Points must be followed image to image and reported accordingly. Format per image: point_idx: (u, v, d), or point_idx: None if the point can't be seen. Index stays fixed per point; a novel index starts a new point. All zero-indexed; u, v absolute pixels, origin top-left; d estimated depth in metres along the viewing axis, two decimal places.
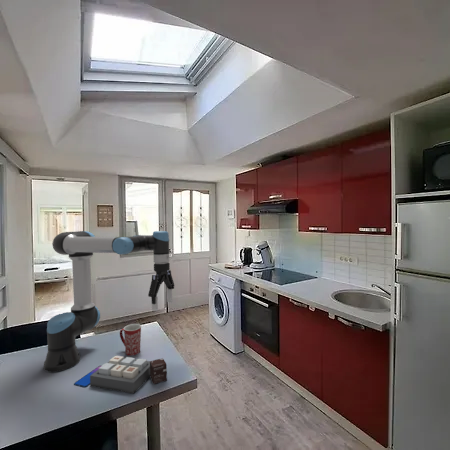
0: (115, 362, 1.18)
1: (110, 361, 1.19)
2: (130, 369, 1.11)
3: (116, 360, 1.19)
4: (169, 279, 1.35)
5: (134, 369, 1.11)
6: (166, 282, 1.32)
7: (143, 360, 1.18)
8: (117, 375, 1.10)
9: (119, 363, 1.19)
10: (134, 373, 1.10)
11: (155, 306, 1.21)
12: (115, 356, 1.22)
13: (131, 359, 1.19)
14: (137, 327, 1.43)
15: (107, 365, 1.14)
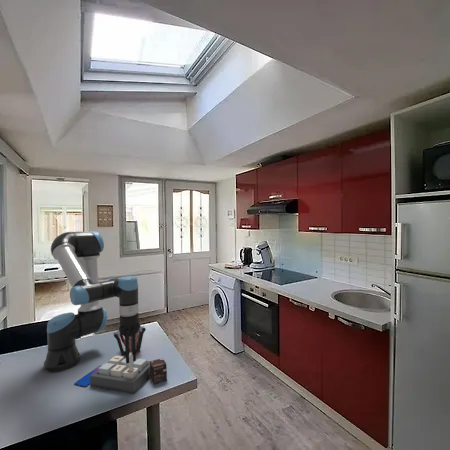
0: (115, 362, 1.18)
1: (110, 361, 1.19)
2: None
3: (116, 360, 1.19)
4: (138, 338, 1.12)
5: (134, 370, 1.11)
6: (131, 340, 1.11)
7: (143, 360, 1.18)
8: (117, 375, 1.10)
9: (119, 363, 1.19)
10: (134, 374, 1.10)
11: (129, 365, 1.10)
12: (115, 356, 1.22)
13: None
14: None
15: (107, 365, 1.14)
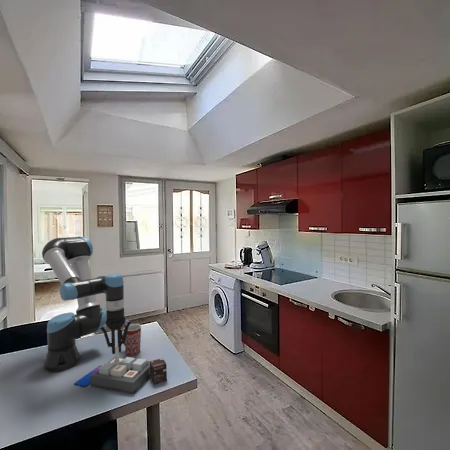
0: (115, 364, 1.18)
1: None
2: (130, 373, 1.11)
3: (116, 362, 1.19)
4: (124, 331, 1.22)
5: (134, 373, 1.11)
6: (117, 333, 1.20)
7: (143, 360, 1.18)
8: (117, 375, 1.10)
9: None
10: (134, 377, 1.10)
11: (115, 356, 1.19)
12: None
13: (131, 359, 1.19)
14: (137, 327, 1.43)
15: (107, 365, 1.14)
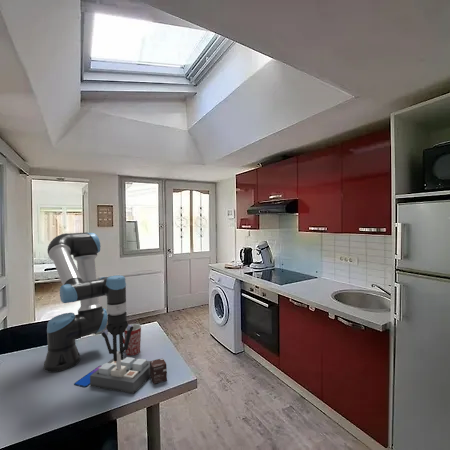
0: (115, 366, 1.18)
1: None
2: (130, 373, 1.11)
3: None
4: (126, 337, 1.14)
5: (134, 373, 1.11)
6: (119, 338, 1.12)
7: (143, 360, 1.18)
8: (117, 376, 1.10)
9: None
10: (134, 377, 1.10)
11: (116, 364, 1.11)
12: None
13: (131, 359, 1.19)
14: (137, 327, 1.43)
15: (107, 365, 1.14)
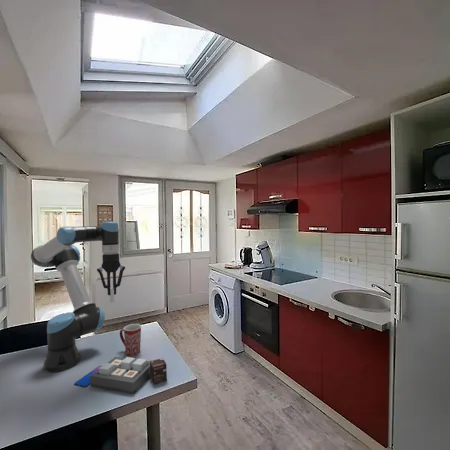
0: (115, 366, 1.18)
1: None
2: (130, 373, 1.11)
3: (116, 364, 1.19)
4: (119, 275, 1.30)
5: (134, 373, 1.11)
6: (113, 276, 1.28)
7: (143, 360, 1.18)
8: None
9: (119, 367, 1.19)
10: (134, 377, 1.10)
11: (110, 297, 1.27)
12: (115, 360, 1.22)
13: (131, 359, 1.19)
14: (137, 327, 1.43)
15: (107, 365, 1.14)
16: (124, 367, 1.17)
